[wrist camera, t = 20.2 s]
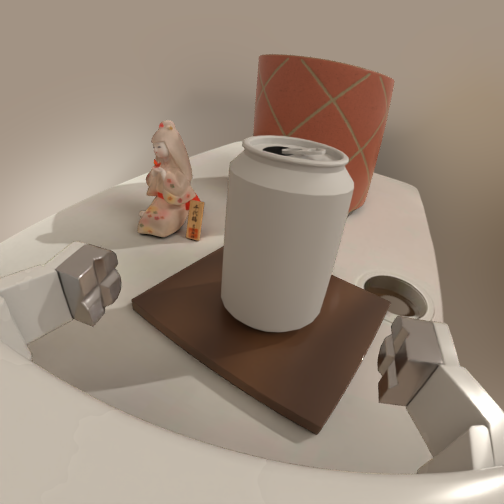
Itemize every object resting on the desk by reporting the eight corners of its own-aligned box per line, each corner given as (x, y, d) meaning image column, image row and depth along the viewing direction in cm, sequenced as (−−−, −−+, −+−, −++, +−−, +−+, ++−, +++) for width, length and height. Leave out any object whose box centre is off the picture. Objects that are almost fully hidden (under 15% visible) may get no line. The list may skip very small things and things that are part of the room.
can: (248, 264, 28) (264, 126, 21) (329, 293, 25) (367, 150, 19) (200, 314, 22) (204, 141, 15) (299, 356, 19) (349, 174, 13)
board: (387, 310, 25) (391, 302, 25) (317, 435, 15) (321, 428, 15) (242, 243, 33) (243, 234, 32) (132, 309, 23) (130, 299, 22)
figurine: (119, 228, 33) (121, 119, 28) (157, 214, 38) (162, 120, 34) (182, 249, 29) (191, 121, 25) (218, 231, 35) (228, 124, 31)
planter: (269, 167, 57) (282, 63, 47) (369, 191, 52) (391, 83, 42) (223, 198, 42) (236, 50, 31) (363, 236, 37) (399, 75, 26)
